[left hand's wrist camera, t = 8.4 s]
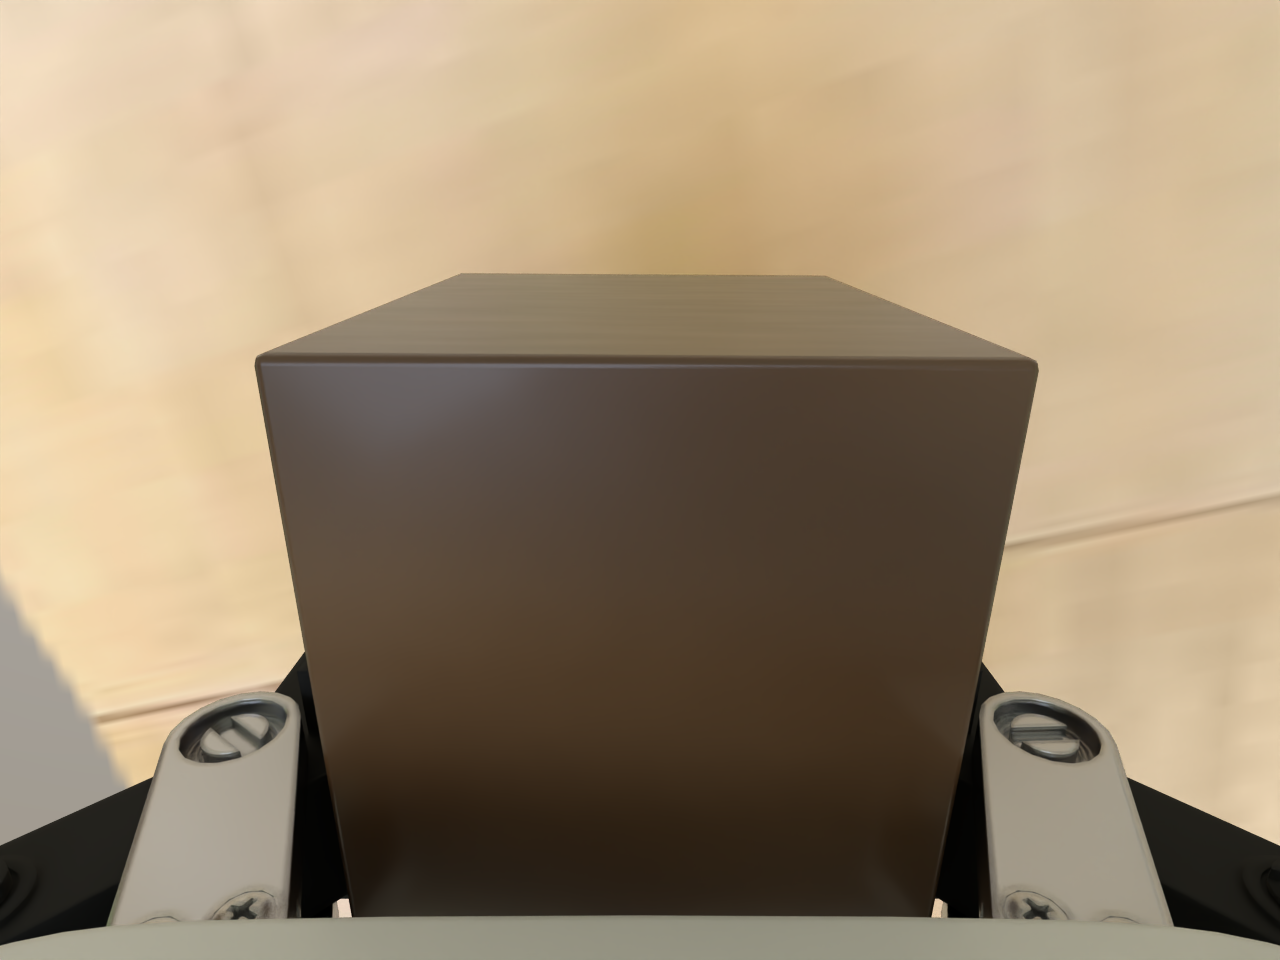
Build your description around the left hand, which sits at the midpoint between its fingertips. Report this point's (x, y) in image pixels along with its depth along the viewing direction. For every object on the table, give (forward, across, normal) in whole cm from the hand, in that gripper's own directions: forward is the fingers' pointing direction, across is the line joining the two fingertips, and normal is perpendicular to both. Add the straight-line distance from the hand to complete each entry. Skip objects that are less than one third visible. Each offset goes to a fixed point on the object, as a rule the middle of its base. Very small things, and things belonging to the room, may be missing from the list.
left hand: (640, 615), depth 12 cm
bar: (+2, 0, -20) cm, 21 cm away
